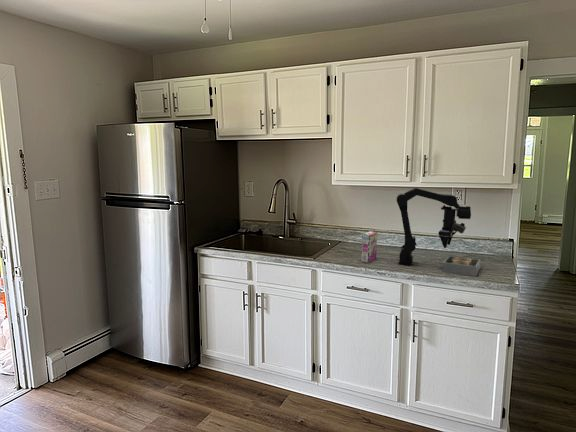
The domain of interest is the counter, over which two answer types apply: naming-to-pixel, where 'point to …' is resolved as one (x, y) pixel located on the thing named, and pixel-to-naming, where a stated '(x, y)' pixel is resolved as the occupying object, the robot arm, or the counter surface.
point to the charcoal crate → (461, 267)
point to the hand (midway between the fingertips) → (446, 246)
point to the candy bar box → (369, 247)
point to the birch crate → (462, 261)
